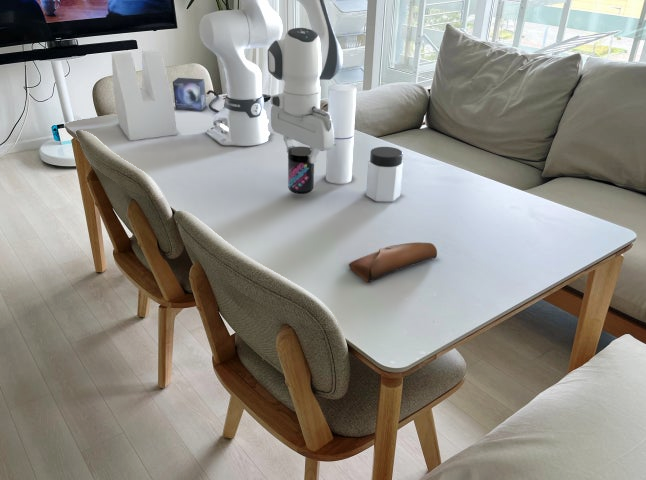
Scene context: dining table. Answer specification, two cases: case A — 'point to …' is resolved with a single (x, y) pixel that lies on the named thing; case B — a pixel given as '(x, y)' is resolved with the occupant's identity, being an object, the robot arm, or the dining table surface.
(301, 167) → the supplement container
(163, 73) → the white notched block
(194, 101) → the small box
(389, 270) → the sunglasses case
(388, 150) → the jar
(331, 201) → the dining table surface
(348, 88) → the cylindrical container
